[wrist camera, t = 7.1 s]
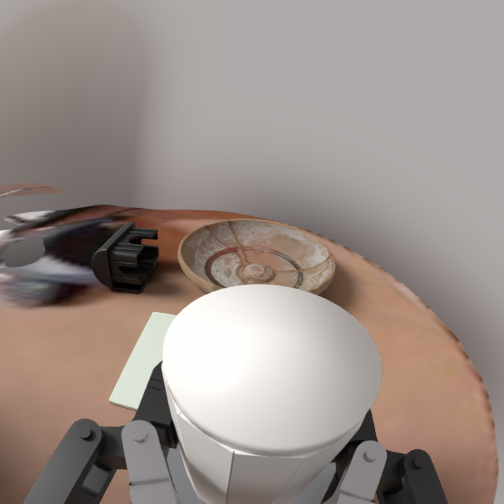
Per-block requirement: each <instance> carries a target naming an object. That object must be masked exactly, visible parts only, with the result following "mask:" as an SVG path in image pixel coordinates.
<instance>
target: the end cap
mask: <svg viewBox="0 0 504 504" xmlns="http://www.w3.org/2000/svg"><path fill="white" fill-rule="evenodd" d="M142 239H154V240H157V239H158V231H157V229H144V228H135V222H129V223H127V224H125V225H124V226H123V227H121V228H120V229H119V230H118V231H117V232H116V233H115V234H114V235H113V236H112V237H111V238H110V239H109V240H108V241H107V242H106V243H105V244H104V245H103V246H102V247H101V248H100V249H99V250H98V251H97V252H96V253H95V254H94V255H93V258H92V263H91V264H92V270H93V272H94V274H95V276H96V278H97V279H98V280H99V281H100V282H101V283H102V284H104V285H105V286H107V287H109V288H111V289H113V290H115V291H121V292H128V293H134V294H139V293H141V292H142V291H143V289H144V287H145V286H146V284H147V282H148V281H149V279H150V277H151V276H152V274H153V272H154V271H155V269H156V267H157V266H158V260H157V258H158V256H159V248H158V246H151V245H144V244H143V243H142V242H141V240H142Z"/></svg>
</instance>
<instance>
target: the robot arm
mask: <svg viewBox="0 0 504 504" xmlns="http://www.w3.org/2000/svg"><path fill="white" fill-rule="evenodd" d="M162 363H163V361H161V362H160V363H159V364H158V365H157V366H155V367H154V368H153V371H152V373H151V376H150V379H149V381H148V383H147V387H146V389H145V391H144V394H143V396H142V399H141V401H140V404H139V407H138V409H137V412H136V415H135V417H134V418H133V420H132V421H131V422H129V423H128V424H126V425H124V426H120V427H100V426H99V425H98V424H97V423H96V422H94V421H93V420H90V419H80V420H78V421H76V422H75V423H73V425H72V426H71V427H70V429H69V430H68V432H67V433H66V435H65V436H64V438H63V439H62V441H61V442H60V444H59V446H58V447H57V449H56V450H55V452H54V453H53V455H52V456H51V458H50V460H49V461H48V463H47V464H46V466H45V467H44V469H43V471H42V472H41V474H40V475H39V477H38V479H37V480H36V482H35V484H34V485H33V487H32V489H31V490H30V492H29V494H28V495H27V497H26V499H25V500H24V502H23V504H99V503H100V501H101V499H102V497H103V495H104V493H105V491H106V489H107V488H108V486H109V484H110V482H111V480H112V478H113V476H114V474H115V472H116V470H117V469H127V470H128V474H129V478H130V483H129V492H130V496H131V500H132V504H182V503H181V500H180V498H179V495H178V492H177V489H176V486H175V483H174V480H173V477H172V474H171V470H170V467H169V464H168V460H167V457H168V453H169V449H170V448H173V449H177V445H178V440H177V436H176V432H175V428H174V424H173V420H172V416H171V412H170V408H169V403H168V398H167V394H166V389H165V384H164V379H163V374H162V368H161V365H162ZM330 463H335V465H336V469H335V470H334V472H333V474H332V476H331V478H330V480H329V482H328V484H327V487H326V489H325V491H324V492H323V494H322V496H321V498H320V500H319V502H318V504H375V501H373V498H374V495H375V492H376V494H377V497H378V501H379V504H448V503H447V500H446V497H445V494H444V491H443V489H442V486H441V483H440V481H439V478H438V476H437V473H436V470H435V468H434V465H433V463H432V460H431V458H430V456H429V455H428V454H427V453H426V452H425V451H423V450H420V449H415V450H412V451H410V452H409V453H407V454H402V453H396V452H391V451H388V450H386V449H385V448H384V446H383V445H381V444H380V443H379V442H378V440H377V437H376V432H375V427H374V422H373V418H372V413H371V410H370V409H369V410H368V412H367V413H366V415H365V418H364V420H363V422H362V424H361V426H360V428H359V429H358V431H357V432H356V433H355V434H354V436H353V437H352V438H351V439H350V440H349V442H348V443H347V444H346V445H345V446H344V448H343V449H342V450H341V451H340V452H339V453H338V454H337V455H336V457H335V458H334V459H333V460H332V461H331V462H330Z"/></svg>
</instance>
